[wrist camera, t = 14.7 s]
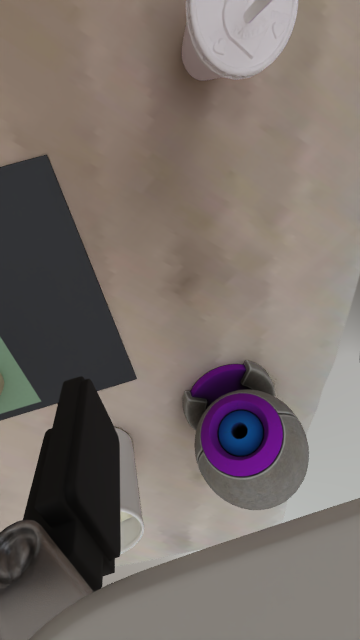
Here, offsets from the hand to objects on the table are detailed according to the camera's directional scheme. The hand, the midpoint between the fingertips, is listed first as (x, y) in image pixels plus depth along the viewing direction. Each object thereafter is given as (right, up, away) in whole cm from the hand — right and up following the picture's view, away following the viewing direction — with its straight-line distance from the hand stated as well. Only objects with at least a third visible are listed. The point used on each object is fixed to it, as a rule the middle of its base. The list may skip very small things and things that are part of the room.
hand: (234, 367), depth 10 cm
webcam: (+5, -9, +34) cm, 36 cm away
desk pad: (-21, +2, +23) cm, 31 cm away
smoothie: (0, +24, +15) cm, 28 cm away
